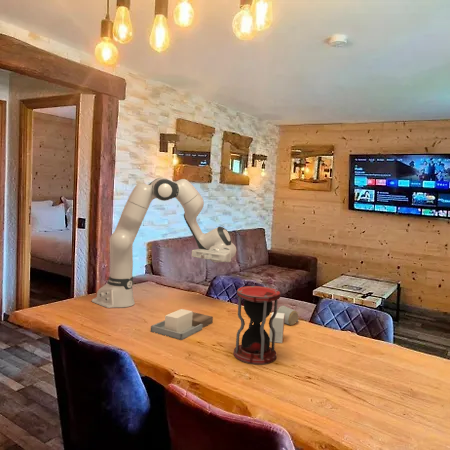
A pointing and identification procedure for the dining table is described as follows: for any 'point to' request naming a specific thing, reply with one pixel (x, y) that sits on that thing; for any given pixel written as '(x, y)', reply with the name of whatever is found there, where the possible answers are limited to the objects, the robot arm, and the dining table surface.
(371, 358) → the dining table surface
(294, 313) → the ceramic mug
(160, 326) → the gray tray
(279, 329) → the small box
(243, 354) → the hourglass
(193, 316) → the brown flat block
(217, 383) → the dining table surface
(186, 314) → the cream block
